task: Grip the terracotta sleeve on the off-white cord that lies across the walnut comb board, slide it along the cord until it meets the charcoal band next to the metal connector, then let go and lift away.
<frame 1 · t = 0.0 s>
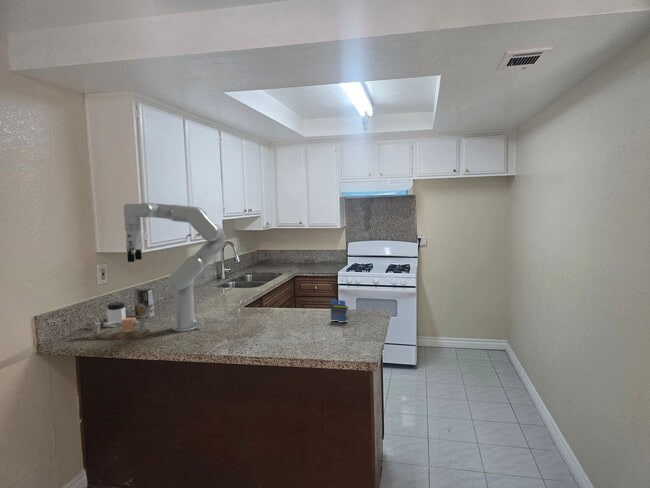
hand: (134, 260, 217), 37 cm above the worktop, tool pointing down, fingers open, 9 cm apart
coffee box: (145, 316, 249), on the worktop
label tape cartridge: (339, 322, 229), on the worktop
sleeve: (129, 323, 211), point 6 cm above the worktop, slide at -5.0 cm
jar: (117, 325, 231), on the worktop
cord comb: (119, 335, 211), on the worktop
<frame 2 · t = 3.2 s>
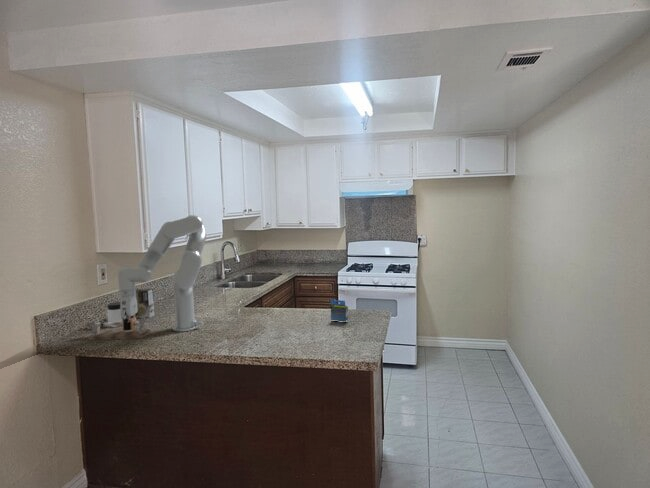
hand: (129, 328, 211), 4 cm above the worktop, tool pointing down, fingers closed on sleeve, 5 cm apart
sleeve: (129, 323, 211), point 6 cm above the worktop, slide at -5.0 cm, touching gripper
everything else where it was.
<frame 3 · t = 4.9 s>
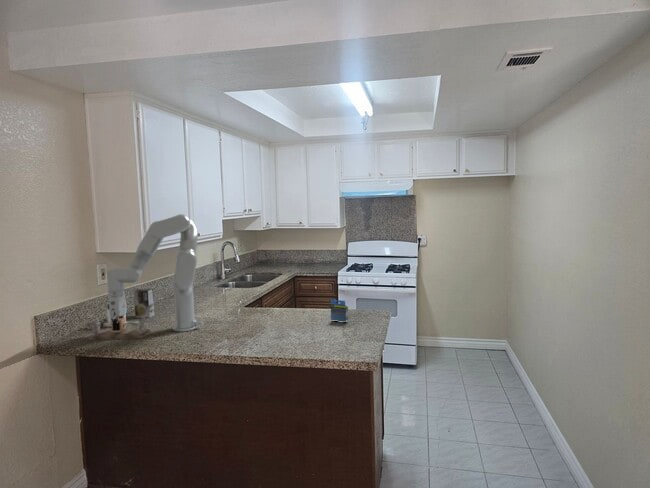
hand: (118, 328, 211), 4 cm above the worktop, tool pointing down, fingers closed on sleeve, 5 cm apart
sleeve: (118, 324, 211), point 6 cm above the worktop, slide at 0.3 cm, touching gripper
everything else where it was.
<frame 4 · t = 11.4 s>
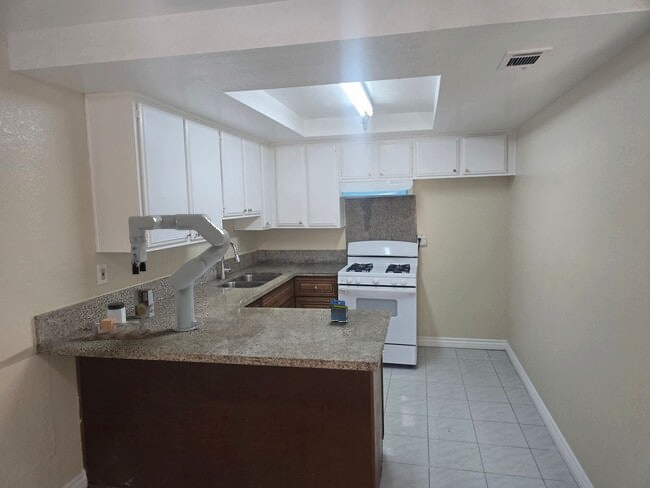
hand: (139, 272, 218), 30 cm above the worktop, tool pointing down, fingers open, 9 cm apart
sleeve: (108, 324, 210), point 6 cm above the worktop, slide at 5.2 cm
everything else where it was.
at the end: sleeve slide at 5.2 cm; the gripper is holding nothing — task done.
